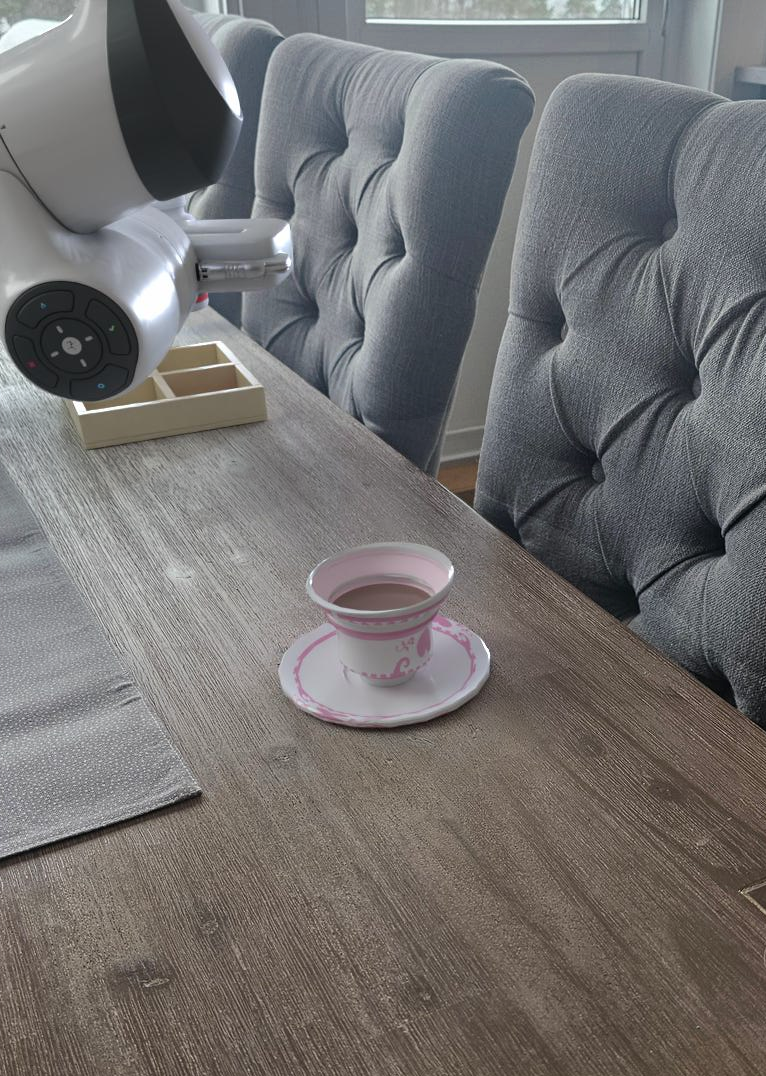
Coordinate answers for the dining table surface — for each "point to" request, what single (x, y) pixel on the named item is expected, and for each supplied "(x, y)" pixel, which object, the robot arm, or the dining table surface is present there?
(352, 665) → the teacup
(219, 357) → the divided tray
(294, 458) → the dining table surface
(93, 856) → the dining table surface
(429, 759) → the dining table surface
